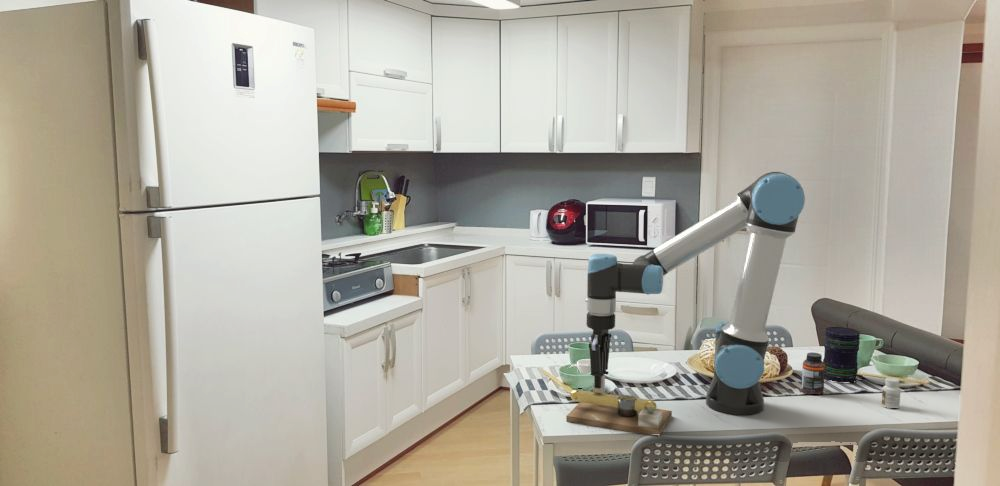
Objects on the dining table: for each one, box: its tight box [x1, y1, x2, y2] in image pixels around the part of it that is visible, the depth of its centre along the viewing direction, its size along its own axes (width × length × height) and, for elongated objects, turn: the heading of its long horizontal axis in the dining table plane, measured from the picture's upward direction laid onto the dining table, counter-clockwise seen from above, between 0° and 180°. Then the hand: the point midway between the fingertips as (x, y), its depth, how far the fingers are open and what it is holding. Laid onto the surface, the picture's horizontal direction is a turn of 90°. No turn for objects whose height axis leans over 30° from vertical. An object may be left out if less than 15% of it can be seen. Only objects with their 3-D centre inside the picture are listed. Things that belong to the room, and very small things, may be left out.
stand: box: [565, 402, 673, 436], centre depth 201 cm, size 24×15×6 cm, turn 66°
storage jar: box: [822, 326, 861, 382], centre depth 235 cm, size 10×10×15 cm
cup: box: [568, 358, 591, 373], centre depth 225 cm, size 7×10×8 cm
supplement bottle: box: [801, 352, 825, 395], centre depth 223 cm, size 6×6×11 cm
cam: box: [569, 389, 657, 417], centre depth 202 cm, size 23×5×4 cm, turn 66°
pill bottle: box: [881, 377, 902, 409], centre depth 211 cm, size 4×4×8 cm
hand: (598, 398), depth 208 cm, fingers closed
